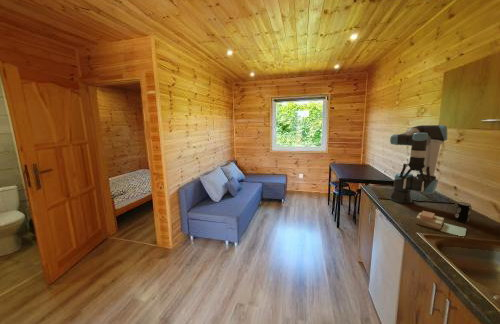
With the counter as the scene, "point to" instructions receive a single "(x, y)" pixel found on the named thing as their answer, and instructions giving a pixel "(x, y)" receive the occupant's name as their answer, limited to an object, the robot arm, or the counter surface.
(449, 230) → the mat
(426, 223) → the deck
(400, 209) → the counter surface
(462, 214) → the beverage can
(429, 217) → the tile
